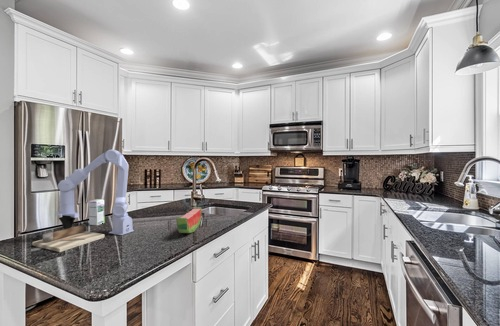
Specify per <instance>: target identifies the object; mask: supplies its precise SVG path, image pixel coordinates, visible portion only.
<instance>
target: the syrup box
mask: <svg viewBox="0 0 500 326" xmlns="http://www.w3.org/2000/svg"><path fill="white" fill-rule="evenodd" d="M105 217H106V214H105V199H102V198H101V199H100V198H97V199H93V200H92V199H91V200H89V201H88V218H89V220H88V224H89V226H100V225H102V223H103V224H105V223H106V218H105Z"/></svg>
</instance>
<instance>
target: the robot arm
mask: <svg viewBox="0 0 500 326" xmlns="http://www.w3.org/2000/svg"><path fill="white" fill-rule="evenodd" d="M109 162H110V163H111V164H114V166H115V167H117V168H118V169H117V181H116V193H115V199H114V200H115V201H114V205H113V207H112V209H111V213H112V231H111V230H110V231H109V232H108V234H112V235H117V236H123V235H126V234H129V233H132V232H135V230H134V229H133V218H132V217H131V216H129V214H128V212H127V210H128V209H129V208H128V204H127V191H128V189H127V188H128V179H129V178H128V177H129V169H130V168H129V167H130V165H129V163H128V162H127V160H126V158H125V156H124V154H123V153H121V152H120V151H118V150H117V149H108V150H107V151H105V152H103V153H101V154H100V155H98V156H97V157H96V158H95V159H93V161H91V162H90V163H89V164H87V165H86V166H85V167H83V168H77V169H76V168H75V169H74V170H73V172H72V173H71V174H70V175H67V176H66V177H65V179H62V180H60V181H59V183H58V184H57V189H58V190H59V210H57V211H56V216H59V217H58V220H59V221H60V223H61V224H62V227H63V229H67V228H71V227H73V225H74V221H75V220H76V219H77V218H79V217H80V213H79V212H76V211H75V209H76V208H75V207H76V206H75V205H76V204H75V188H76V186H78V185H80V184H81V183H83V181H84V180H86V179H87V178H89V173H90V172H92V171H94V170H95V169H97V168H98V167H99V166H101V165H102V164H106V163H109Z"/></svg>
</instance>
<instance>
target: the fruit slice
mask: <svg viewBox="0 0 500 326" xmlns="http://www.w3.org/2000/svg"><path fill="white" fill-rule="evenodd" d="M201 219H202V207H192V209H191V210H189V212H186V213H185V214H184V215H182V216H181V217H176V227H177V231H178V233H180V234H191V233H194V232H195V231H196V230H197V229H198V227H199V226H200V224H201Z"/></svg>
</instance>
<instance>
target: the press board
mask: <svg viewBox="0 0 500 326" xmlns="http://www.w3.org/2000/svg"><path fill="white" fill-rule="evenodd" d="M104 238H105V234H103V233H98V232H95V231H93V232H92V231H87V230H86V231H84V232H80V233H77V234H73V235H69V236H66V237H62V238H59V239H55V240H52V241H49V242H43V238H42V239H39V240H36V241H32V246H34V247H37V248H42V249H46V250H49V251H53V252H57V253H62V252H64V251H68V250H70V249H73V248H77V247H80V246H83V245H85V244H89V243H92V242H95V241H97V240H100V239H101V240H102V239H104Z"/></svg>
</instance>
